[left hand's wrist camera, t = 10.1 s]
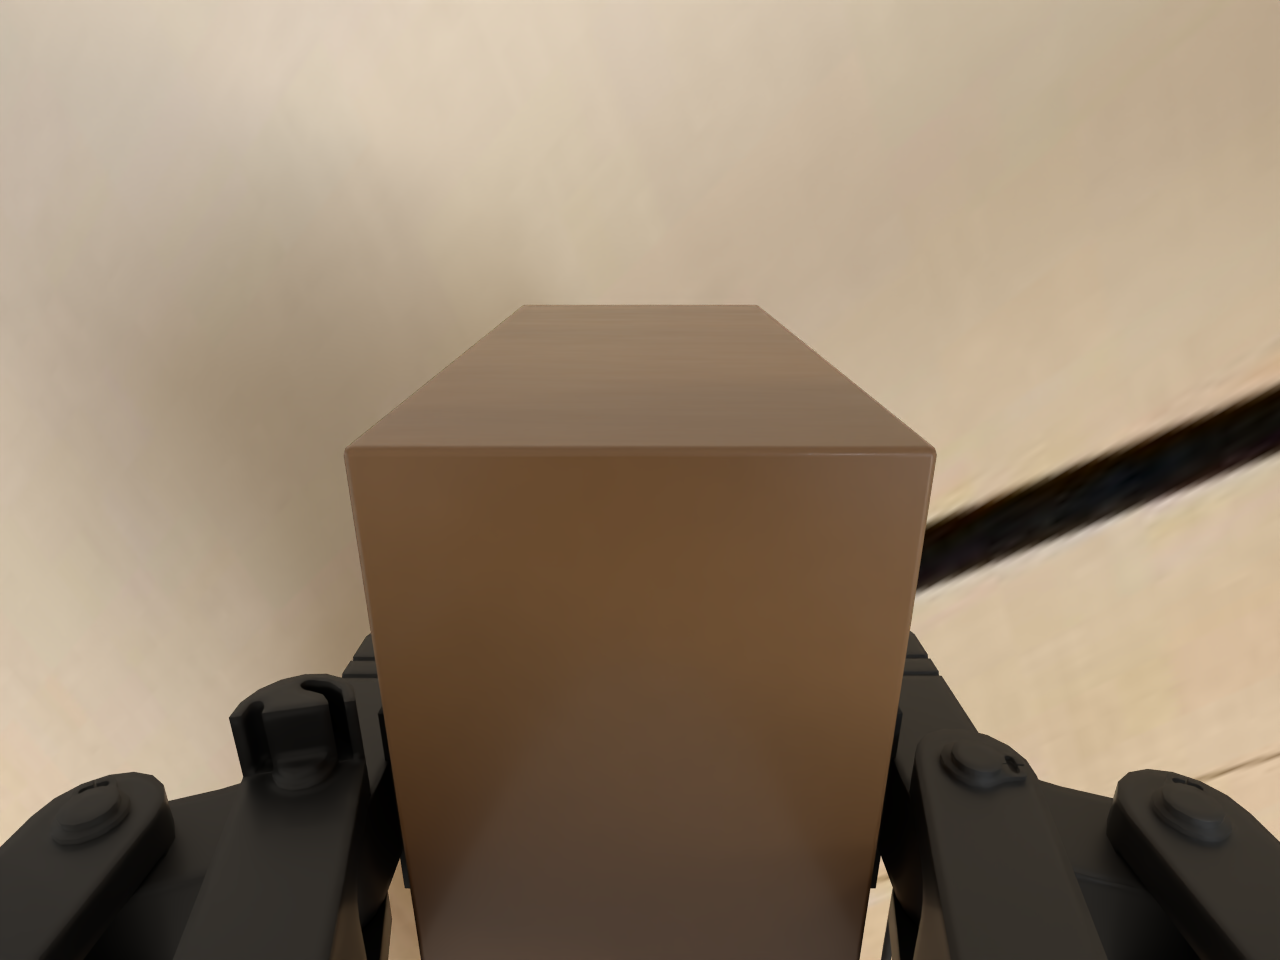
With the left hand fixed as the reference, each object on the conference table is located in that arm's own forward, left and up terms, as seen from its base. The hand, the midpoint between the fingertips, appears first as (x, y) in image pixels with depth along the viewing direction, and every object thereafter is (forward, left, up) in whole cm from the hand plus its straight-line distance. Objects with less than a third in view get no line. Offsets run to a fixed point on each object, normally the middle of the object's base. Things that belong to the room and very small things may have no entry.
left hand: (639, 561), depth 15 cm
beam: (+29, +6, -1) cm, 29 cm away
